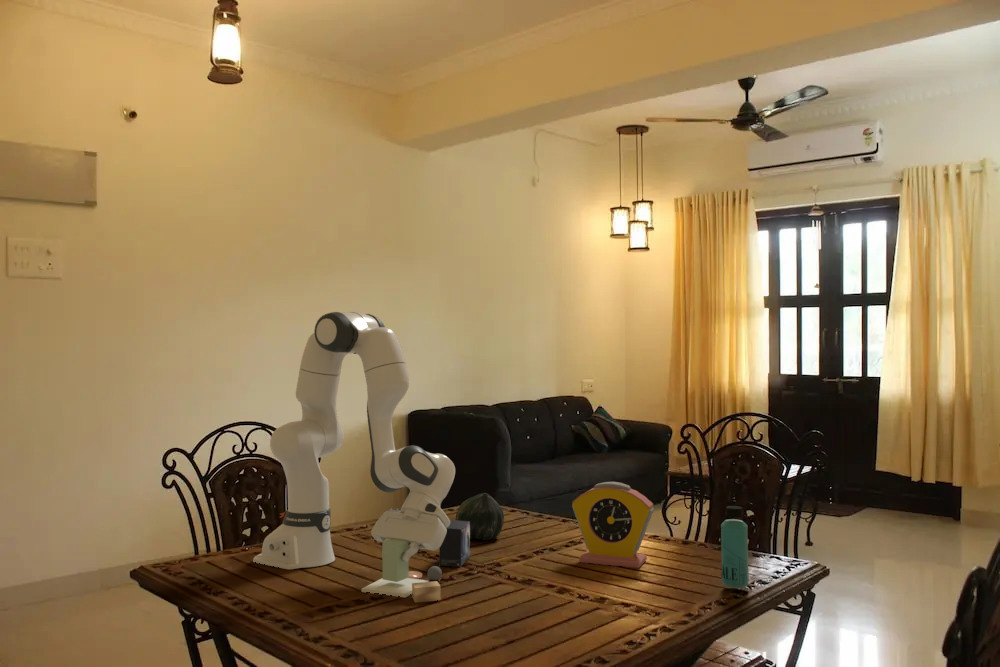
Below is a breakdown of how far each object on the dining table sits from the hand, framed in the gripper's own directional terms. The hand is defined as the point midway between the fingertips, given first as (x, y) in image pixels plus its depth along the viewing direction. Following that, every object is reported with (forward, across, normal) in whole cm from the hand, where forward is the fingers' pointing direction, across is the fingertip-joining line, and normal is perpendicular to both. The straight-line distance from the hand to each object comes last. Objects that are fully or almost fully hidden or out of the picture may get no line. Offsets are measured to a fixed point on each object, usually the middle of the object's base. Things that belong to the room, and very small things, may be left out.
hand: (393, 558), depth 200 cm
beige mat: (+5, 0, +6) cm, 7 cm away
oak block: (+7, +12, +4) cm, 14 cm away
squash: (-33, -12, +44) cm, 56 cm away
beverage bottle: (-24, +71, +35) cm, 83 cm away
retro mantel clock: (-30, +35, +41) cm, 62 cm away
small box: (-14, -2, +25) cm, 29 cm away
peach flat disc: (-2, -4, +12) cm, 13 cm away
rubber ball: (-4, +4, +11) cm, 13 cm away
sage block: (+3, 0, +4) cm, 5 cm away
